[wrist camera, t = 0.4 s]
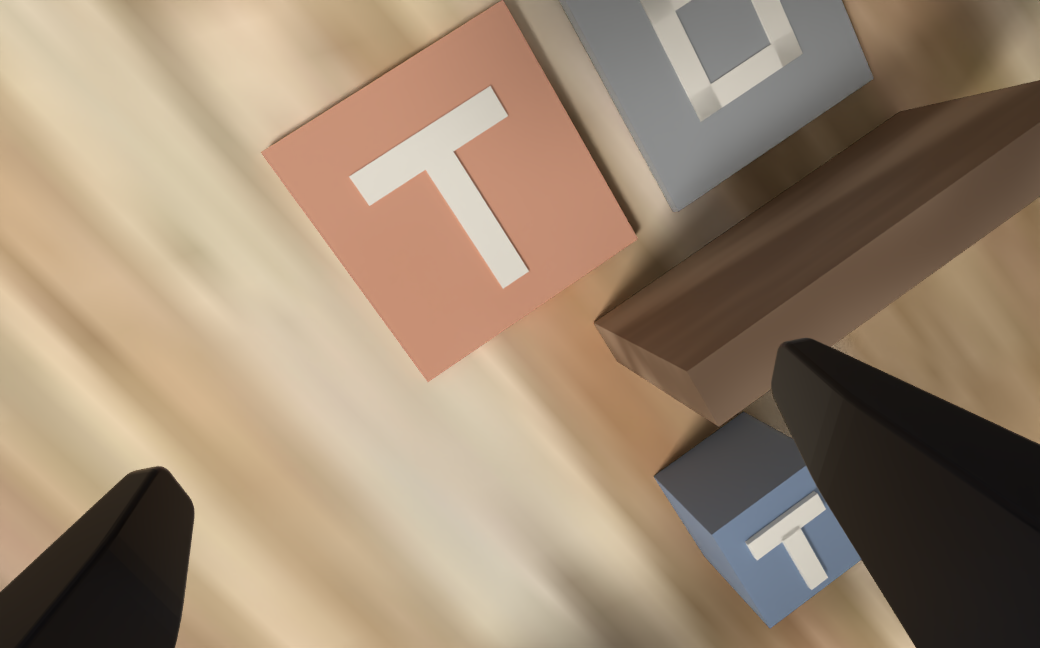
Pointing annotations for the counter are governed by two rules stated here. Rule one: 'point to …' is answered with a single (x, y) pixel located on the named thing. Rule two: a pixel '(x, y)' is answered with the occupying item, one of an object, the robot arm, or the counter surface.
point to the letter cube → (758, 516)
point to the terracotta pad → (455, 191)
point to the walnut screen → (831, 249)
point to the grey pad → (717, 77)
